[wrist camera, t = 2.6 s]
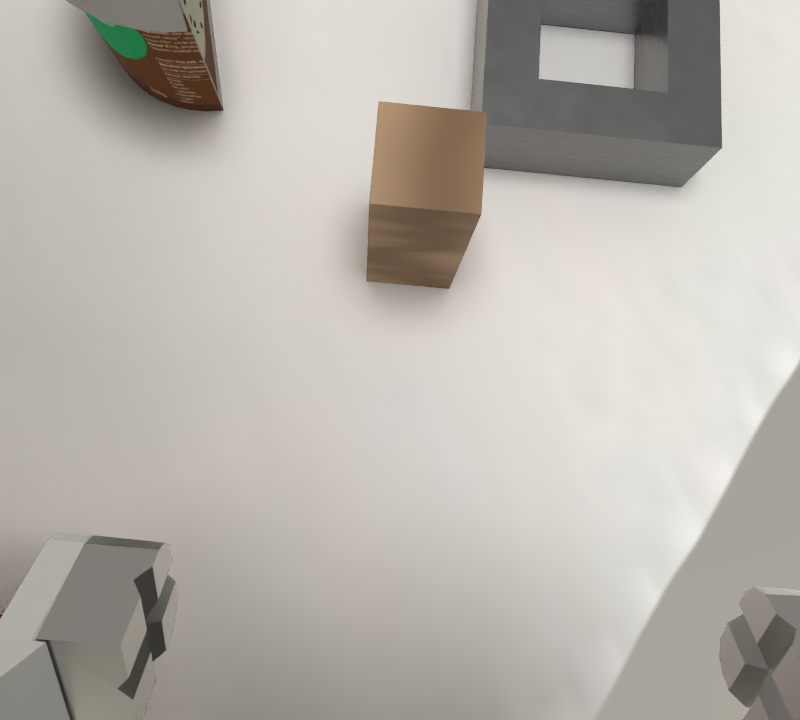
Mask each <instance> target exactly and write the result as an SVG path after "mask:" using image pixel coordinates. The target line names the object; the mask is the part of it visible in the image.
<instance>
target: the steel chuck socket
mask: <svg viewBox="0 0 800 720" xmlns="http://www.w3.org/2000/svg"><path fill="white" fill-rule="evenodd" d="M541 24H547V25H556V26H566V27H575V28H584V29H593V30H602V31H612V32H621V33H630V34H635V78H634V89H629V88H620V87H610V86H601V85H591V84H582V83H572V82H563V81H553V80H544V79H538V78H539V54H540V30H541ZM471 111H477V112H487V122H486V139H485V157H484V167H487V168H497V169H507V170H518V171H528V172H538V173H548V174H558V175H568V176H578V177H588V178H598V179H608V180H618V181H628V182H638V183H648V184H658V185H668V186H678V187H682V186H683V185H684V184H685V183H686V182H687V181H688V180H689V179H690V178H691V177H692V176H693V175H694V174H695V173H696V172H697V171H698V170H700V169H701V168H702V167H703V166H704V165H705V164H706V163H707V162H708V161H709V160H710V159H711V158H712V157H713V156H714V155H715V154H716V153H717V152H718V151H719V150H720V149H721V148H722V128H721V64H720V1H719V0H478V4H477V20H476V36H475V51H474V67H473V83H472V99H471Z"/></svg>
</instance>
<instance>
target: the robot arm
mask: <svg viewBox="0 0 800 720" xmlns="http://www.w3.org/2000/svg"><path fill="white" fill-rule="evenodd" d="M172 561H173V559H172V554H171V549H170V544H167V543H161V542H151V541H141V540H132V539H122V538H112V537H103V536H91V535H79V534H68V533H57V532H56V533H55V534H54V535H53V536H52V537H51V538H50V539H49V540H47V541H46V542H45V544H44V546H43V547H42V549H41V551H40V552H39V554H38V556H37V557H36V559H35V561H34V562H33V564H32V566H31V568H30V569H29V571H28V573H27V574H26V576H25V578H24V579H23V581H22V583H21V585H20V586H19V588H18V590H17V591H16V593H15V595H14V596H13V598H12V600H11V601H10V603H9V605H8V607H7V608H6V610H5V612H4V613H3V615H2V617H1V618H0V720H142V719H143V717H144V714H145V711H146V708H147V705H148V702H149V699H150V696H151V693H152V690H153V687H154V685H155V682H156V679H155V673H154V667H153V661H154V660H155V659H156V658H158V657H159V656H160V655H161V654H162V653H163V652H165V651H166V649H167V646H168V643H169V640H170V637H171V633H172V630H173V625H174V620H175V614H176V609H177V589H176V582H175V581H174V580H173V579H172V578H171V577H170V576H169V575H168V572H169V569H170V566H171V563H172ZM739 605H740V607H741V609H742V611H743V614H742V615H741V616H739V617H738V618H736V619H734V620H732V621H730V622H729V623H727V625H726V628H725V630H724V632H723V634H722V636H721V638H720V653H719V658H720V663H721V669H722V674H723V676H724V679H725V682H726V684H727V687H728V690H729V691H730V692H731V693H732V694H733V695H734V696H735V697H736V698H737V699H738V700H739V701H740V702H741V703H742V704H743V705H745V706H746V708H745V712H744V715H743V718H742V720H800V590H797V589H781V588H766V587H753V588H751V589H749V590H748V591H746V592H745V594H744V595H743V597H742V599H741V600H740V602H739Z"/></svg>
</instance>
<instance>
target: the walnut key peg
mask: <svg viewBox="0 0 800 720" xmlns="http://www.w3.org/2000/svg"><path fill="white" fill-rule="evenodd" d="M486 122H487V112H477V111H467V110H458V109H448V108H438V107H429V106H419V105H409V104H399V103H390V102H380V101H379V104H378V115H377V126H376V136H375V147H374V158H373V169H372V180H371V190H370V201H369V227H368V257H367V281H373V282H384V283H394V284H405V285H416V286H427V287H438V288H450V285H451V283H452V281H453V278H454V276H455V274H456V271H457V269H458V267H459V264H460V262H461V260H462V257H463V255H464V253H465V250H466V248H467V246H468V244H469V241H470V239H471V237H472V234H473V232H474V230H475V227H476V225H477V223H478V220H479V218H480V216H481V208H482V191H483V174H484V157H485V139H486Z"/></svg>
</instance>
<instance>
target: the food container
mask: <svg viewBox="0 0 800 720" xmlns="http://www.w3.org/2000/svg"><path fill="white" fill-rule="evenodd" d="M67 1H68V2H69V3H71V4H73V5H74V6H76V7H78V8H80V9H81V10H83V11H85V13H86V14H87V16H88V17H89V19H90V20H91V21H92V23H93V24H94V26H95V27H96V29H97V30H98V31H99V33H100V34H101V36H102V37H103V39H104V40H105V41H106V43H107V44H108V46H109V47H110V49H111V50H112V51H113V53H114V54H115V56H116V57H117V59H118V60H119V61H120V63H121V64H122V66H123V67H124V69H125V70H126V71H127V73H128V74H129V75H130V77H131V78H132V79H133V80H134V81H135V82H136V83H137V84H138V85H139V86H140V87H141V88H143V89H144V90H145V91H146V92H148V93H149V94H151V95H152V96H154V97H156V98H158V99H159V100H161V101H163V102H166V103H169V104H171V105H174V106H177V107H181V108H185V109H190V110H199V111H219V110H223V104H222V96H221V88H220V80H219V72H218V64H217V56H216V48H215V40H214V32H213V24H212V16H211V8H210V0H67Z"/></svg>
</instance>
